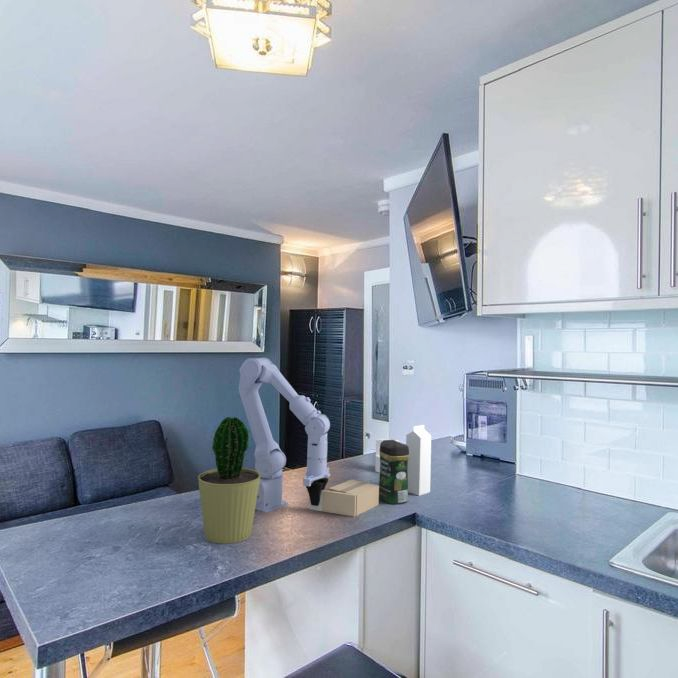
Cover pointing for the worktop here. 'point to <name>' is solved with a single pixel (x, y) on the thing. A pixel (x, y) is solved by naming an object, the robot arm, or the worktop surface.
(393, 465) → the coffee jar
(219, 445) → the potted cactus
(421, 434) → the milk
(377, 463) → the cylinder with rectangular tab
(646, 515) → the worktop surface
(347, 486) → the carton
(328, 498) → the beige rectangular panel
